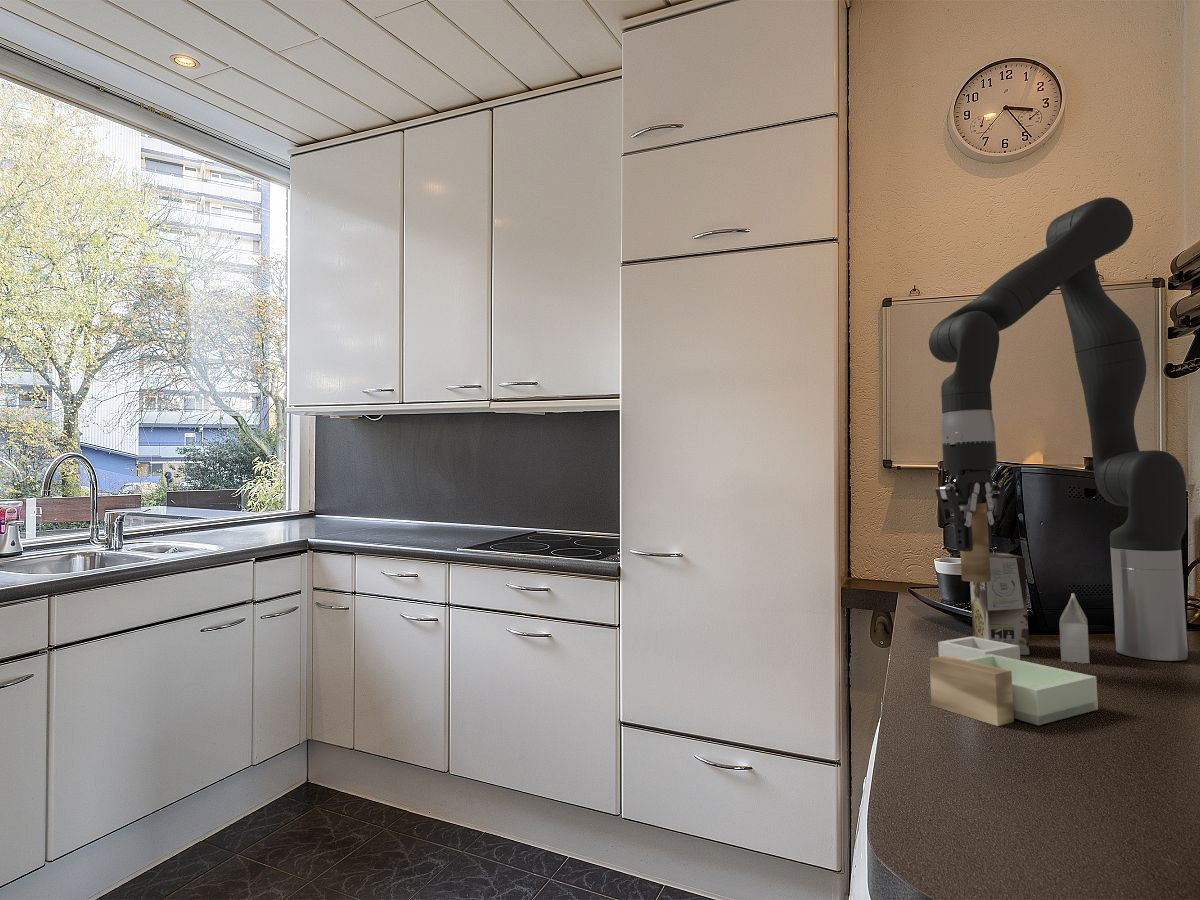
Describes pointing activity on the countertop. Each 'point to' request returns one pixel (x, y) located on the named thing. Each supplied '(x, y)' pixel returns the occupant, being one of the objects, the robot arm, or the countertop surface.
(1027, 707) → the tray
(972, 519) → the dowel
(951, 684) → the rectangular wooden block
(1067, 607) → the white gable carton
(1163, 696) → the countertop surface
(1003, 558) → the coffee box
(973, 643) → the socket block
